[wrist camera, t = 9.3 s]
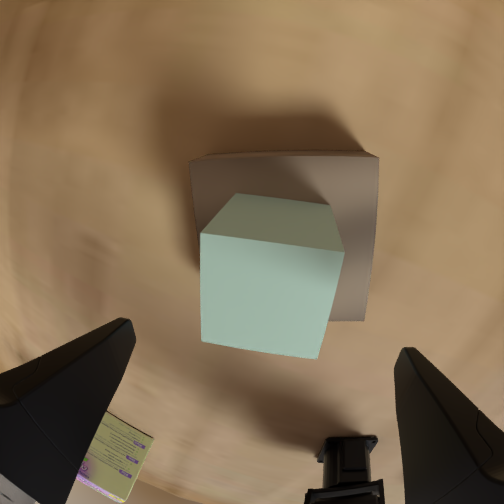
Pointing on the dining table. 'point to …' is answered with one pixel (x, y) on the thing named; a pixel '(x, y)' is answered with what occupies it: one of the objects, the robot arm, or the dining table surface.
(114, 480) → the box
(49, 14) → the dining table surface
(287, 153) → the walnut base
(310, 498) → the robot arm
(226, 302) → the green block
